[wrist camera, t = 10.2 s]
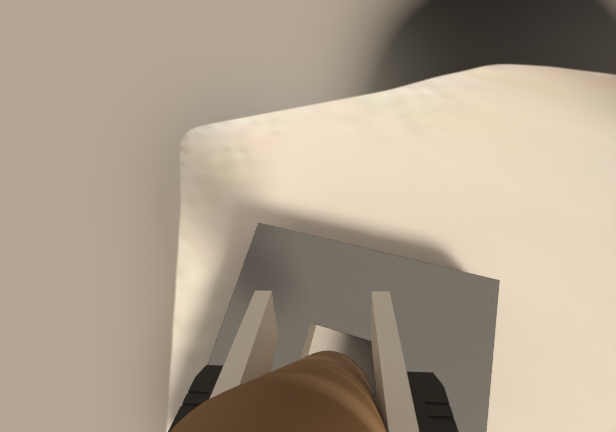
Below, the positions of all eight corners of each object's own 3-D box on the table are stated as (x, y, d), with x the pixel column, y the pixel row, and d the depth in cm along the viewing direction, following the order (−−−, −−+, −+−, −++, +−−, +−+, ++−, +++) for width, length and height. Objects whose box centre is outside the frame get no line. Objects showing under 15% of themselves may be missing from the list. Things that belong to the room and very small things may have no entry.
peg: (379, 365, 16) (454, 441, 4) (360, 461, 15) (397, 947, 3) (300, 340, 17) (188, 346, 5) (276, 428, 16) (52, 700, 4)
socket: (479, 287, 27) (499, 280, 24) (448, 577, 21) (469, 628, 17) (269, 235, 32) (258, 222, 28) (192, 462, 26) (165, 483, 22)
